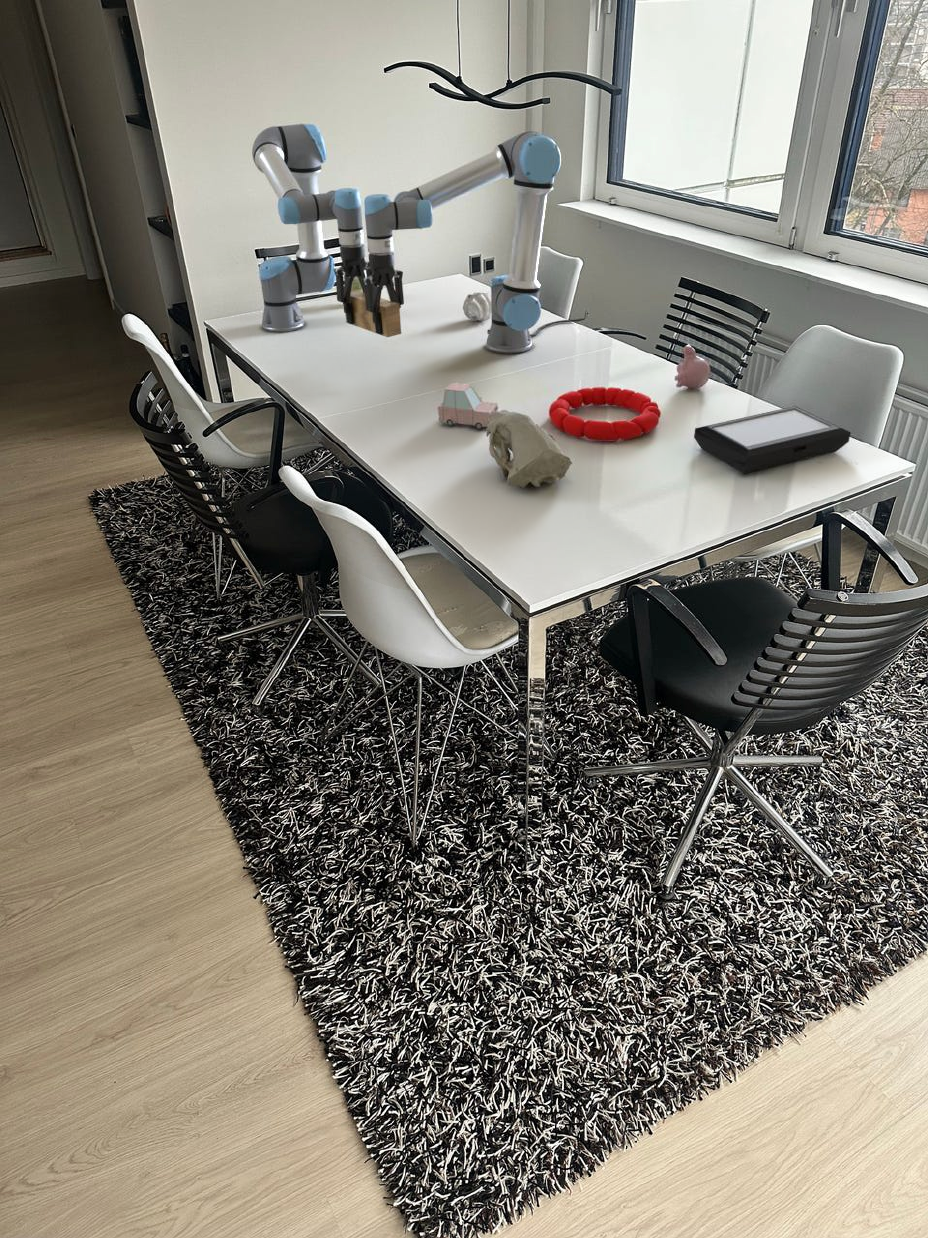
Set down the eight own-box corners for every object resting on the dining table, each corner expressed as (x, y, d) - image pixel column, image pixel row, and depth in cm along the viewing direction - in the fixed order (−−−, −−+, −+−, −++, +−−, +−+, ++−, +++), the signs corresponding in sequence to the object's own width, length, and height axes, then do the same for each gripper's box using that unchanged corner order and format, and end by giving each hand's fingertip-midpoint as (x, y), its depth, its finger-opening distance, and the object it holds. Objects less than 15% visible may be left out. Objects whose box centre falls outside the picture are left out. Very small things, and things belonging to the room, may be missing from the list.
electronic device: (746, 454, 209) (695, 425, 224) (742, 478, 212) (692, 448, 228) (851, 429, 219) (795, 402, 234) (846, 452, 223) (791, 425, 238)
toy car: (488, 432, 240) (488, 396, 234) (436, 426, 244) (434, 390, 239) (499, 419, 247) (499, 384, 241) (448, 413, 252) (447, 379, 246)
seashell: (455, 320, 326) (454, 292, 321) (490, 313, 332) (490, 286, 326) (468, 327, 319) (468, 298, 313) (504, 320, 325) (504, 292, 319)
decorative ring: (589, 435, 224) (684, 402, 234) (527, 398, 247) (617, 369, 256) (589, 461, 229) (683, 427, 238) (529, 422, 251) (617, 393, 260)
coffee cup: (368, 306, 344) (365, 266, 336) (343, 307, 345) (339, 267, 336) (371, 300, 352) (368, 260, 344) (346, 300, 353) (342, 260, 344)
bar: (346, 322, 287) (343, 293, 282) (359, 318, 290) (357, 290, 285) (387, 337, 273) (385, 307, 268) (401, 333, 275) (399, 303, 270)
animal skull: (496, 517, 219) (521, 479, 201) (463, 429, 225) (484, 384, 207) (557, 503, 225) (586, 465, 206) (523, 417, 231) (549, 373, 212)
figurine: (665, 387, 264) (669, 347, 257) (693, 380, 268) (698, 340, 261) (686, 396, 257) (690, 355, 250) (714, 388, 262) (720, 348, 255)
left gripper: (332, 251, 265) (340, 329, 278) (384, 241, 275) (390, 317, 288) (319, 247, 270) (327, 324, 283) (370, 237, 280) (376, 312, 293)
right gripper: (362, 259, 256) (370, 340, 269) (413, 249, 265) (417, 327, 279) (348, 255, 261) (356, 335, 274) (398, 245, 270) (403, 322, 283)
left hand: (359, 320), depth 286 cm, fingers open, 6 cm apart
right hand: (387, 331), depth 276 cm, fingers closed on bar, 5 cm apart
